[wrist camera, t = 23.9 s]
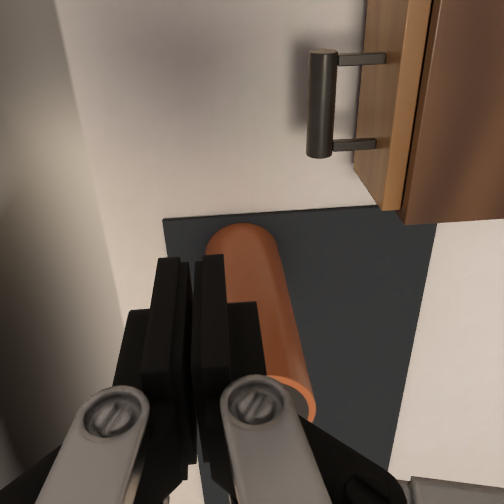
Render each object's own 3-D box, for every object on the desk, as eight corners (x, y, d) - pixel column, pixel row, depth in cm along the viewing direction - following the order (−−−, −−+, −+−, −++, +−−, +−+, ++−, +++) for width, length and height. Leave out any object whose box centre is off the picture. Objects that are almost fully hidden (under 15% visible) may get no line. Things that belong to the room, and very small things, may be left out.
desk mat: (162, 218, 37) (162, 221, 36) (439, 200, 38) (441, 203, 38) (205, 507, 58) (205, 510, 58) (382, 490, 59) (383, 493, 59)
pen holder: (189, 258, 38) (179, 423, 25) (239, 208, 36) (258, 358, 23) (244, 296, 41) (262, 465, 27) (293, 251, 39) (339, 409, 25)
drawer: (294, 172, 35) (312, 216, 29) (298, -14, 28) (321, -6, 23) (530, 158, 36) (592, 197, 30) (584, -25, 29) (676, -21, 23)
